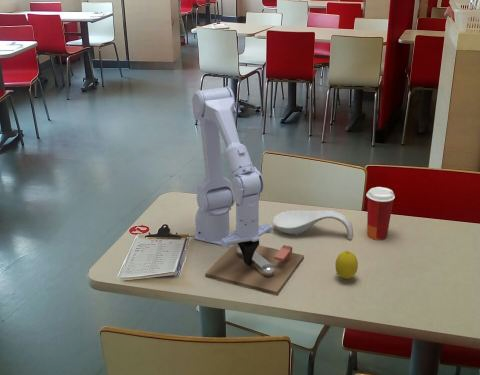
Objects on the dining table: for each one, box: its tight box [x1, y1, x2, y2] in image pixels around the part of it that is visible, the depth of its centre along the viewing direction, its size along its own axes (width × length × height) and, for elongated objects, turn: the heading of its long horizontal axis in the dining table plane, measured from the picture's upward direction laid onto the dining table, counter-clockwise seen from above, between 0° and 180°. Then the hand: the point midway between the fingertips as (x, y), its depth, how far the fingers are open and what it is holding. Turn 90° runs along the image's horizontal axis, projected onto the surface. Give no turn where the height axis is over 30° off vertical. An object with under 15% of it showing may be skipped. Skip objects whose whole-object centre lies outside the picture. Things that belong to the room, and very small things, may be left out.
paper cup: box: [366, 186, 396, 241], centre depth 156 cm, size 8×8×14 cm
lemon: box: [334, 250, 359, 280], centre depth 137 cm, size 6×6×8 cm
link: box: [237, 245, 274, 277], centre depth 143 cm, size 16×4×2 cm, turn 30°
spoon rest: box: [272, 209, 354, 241], centre depth 161 cm, size 24×12×7 cm, turn 74°
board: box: [204, 244, 305, 296], centre depth 144 cm, size 20×19×1 cm
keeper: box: [274, 244, 293, 261], centre depth 144 cm, size 2×7×3 cm, turn 154°
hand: (247, 263), depth 143 cm, fingers closed
